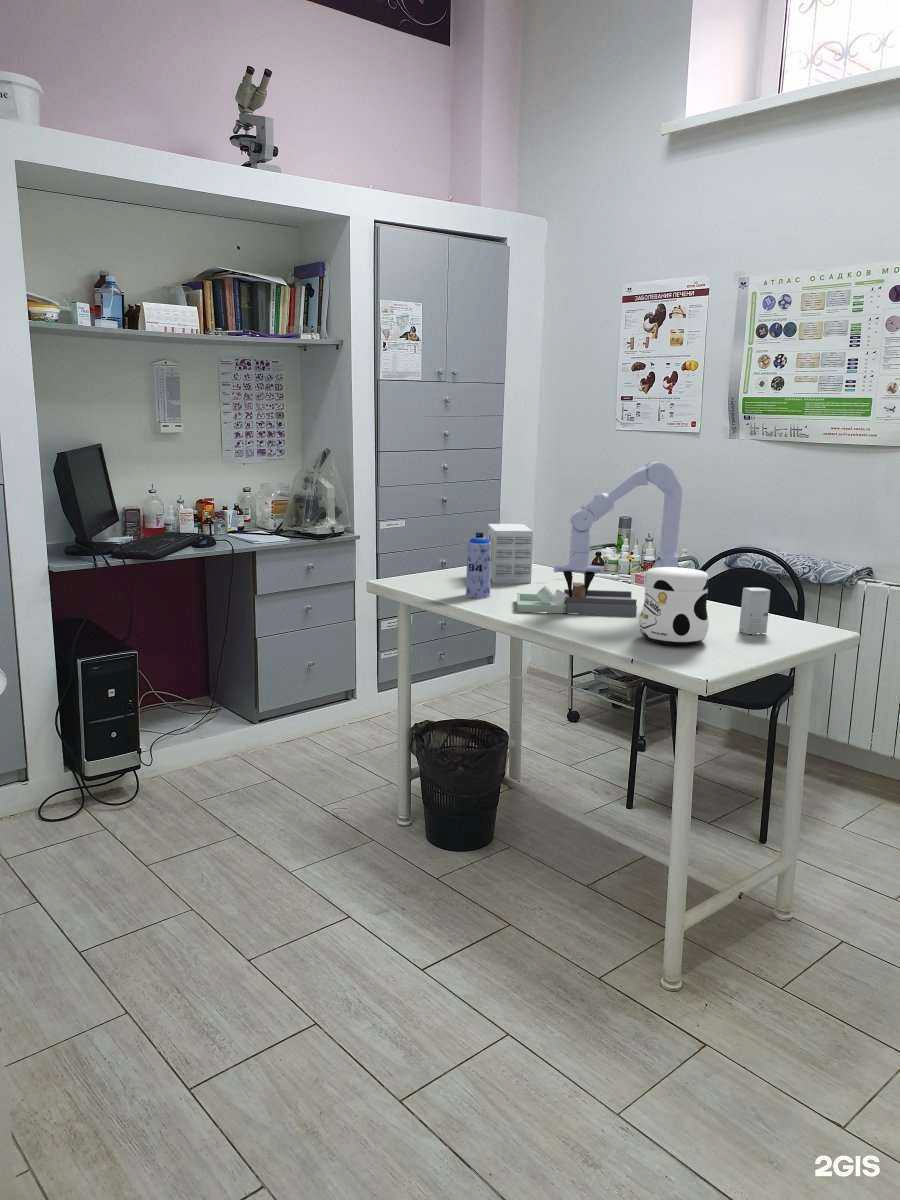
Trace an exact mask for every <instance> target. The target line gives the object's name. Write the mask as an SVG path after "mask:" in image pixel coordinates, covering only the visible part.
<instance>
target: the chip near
mask: <svg viewBox="0 0 900 1200" xmlns="http://www.w3.org/2000/svg"><path fill="white" fill-rule="evenodd" d="M553 594H554V595H553V597H552V599H551V601H550V602H552V603H554V604H556V605H563V603H564V601H565V599H566V598H567V596H568V595H567V594H565V593H564V591H562V590H560V589H556V590H555V592H554V593H553Z"/></svg>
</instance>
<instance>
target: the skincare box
mask: <svg viewBox="0 0 900 1200" xmlns="http://www.w3.org/2000/svg"><path fill="white" fill-rule="evenodd" d="M770 600H771V590H770V589H768V588H765V587H743V588H742V596H741V605H740V615H739V616H740V618H739V627H738V631H739V632H740V631H741V632H743V633H742V634H744V633H745V634H744V635H746V634H752V635H758V634H757V633H766V634H767V631H768V630H767V629H768V622H769V621H768V620H769V610H770ZM741 632H740V633H741Z"/></svg>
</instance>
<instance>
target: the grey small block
mask: <svg viewBox="0 0 900 1200" xmlns="http://www.w3.org/2000/svg"><path fill="white" fill-rule="evenodd" d="M536 594H537V596H538V597H539V598H540V599H541V600H542V601H543V602H544V603H545V604H547V603H549V602H550V601H551V599H552V597H553V594H554V593H552V591H550V589H549V588H548V587H547V586H546V585H544V586H543V587H542V588H541V589H540V590H539V591H538V592H537V593H536Z"/></svg>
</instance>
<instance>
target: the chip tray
mask: <svg viewBox="0 0 900 1200" xmlns="http://www.w3.org/2000/svg"><path fill="white" fill-rule="evenodd" d="M537 594H538V593H522V592H521V593H519V592H518V593H516V613H517V612H547V613H566V603H565V601H564V603H563V605H556V604H554V603H552V602H549V603H547V604H545V603H544V602H543V601H542V600H541V599H540V598H539V597H538V596H537ZM552 594H553V595H554V594H555V593H552Z"/></svg>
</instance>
